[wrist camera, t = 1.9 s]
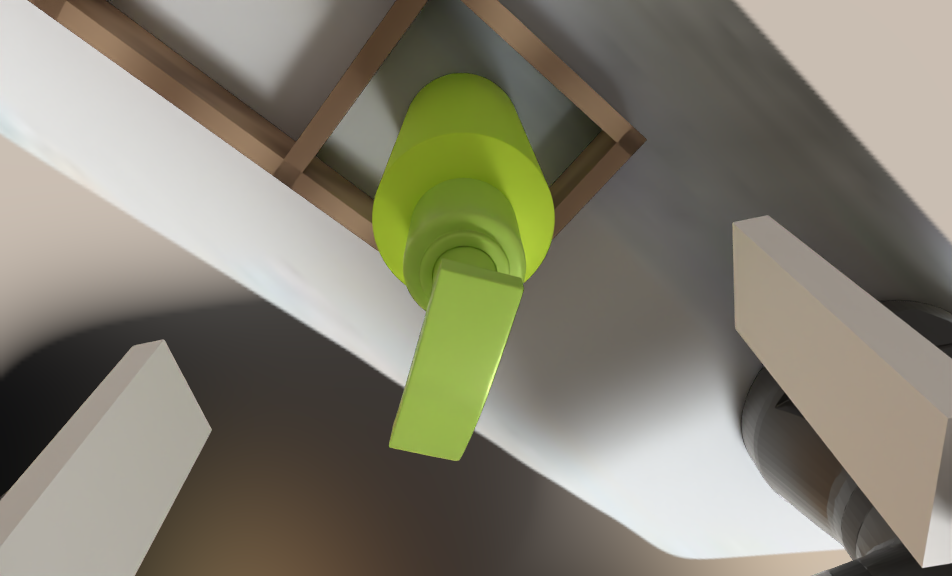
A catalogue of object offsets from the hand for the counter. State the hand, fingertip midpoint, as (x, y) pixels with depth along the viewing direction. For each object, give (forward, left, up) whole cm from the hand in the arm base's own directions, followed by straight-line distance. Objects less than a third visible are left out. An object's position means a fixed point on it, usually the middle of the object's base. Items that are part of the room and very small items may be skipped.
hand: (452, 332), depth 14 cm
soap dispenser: (0, 0, -20) cm, 20 cm away
